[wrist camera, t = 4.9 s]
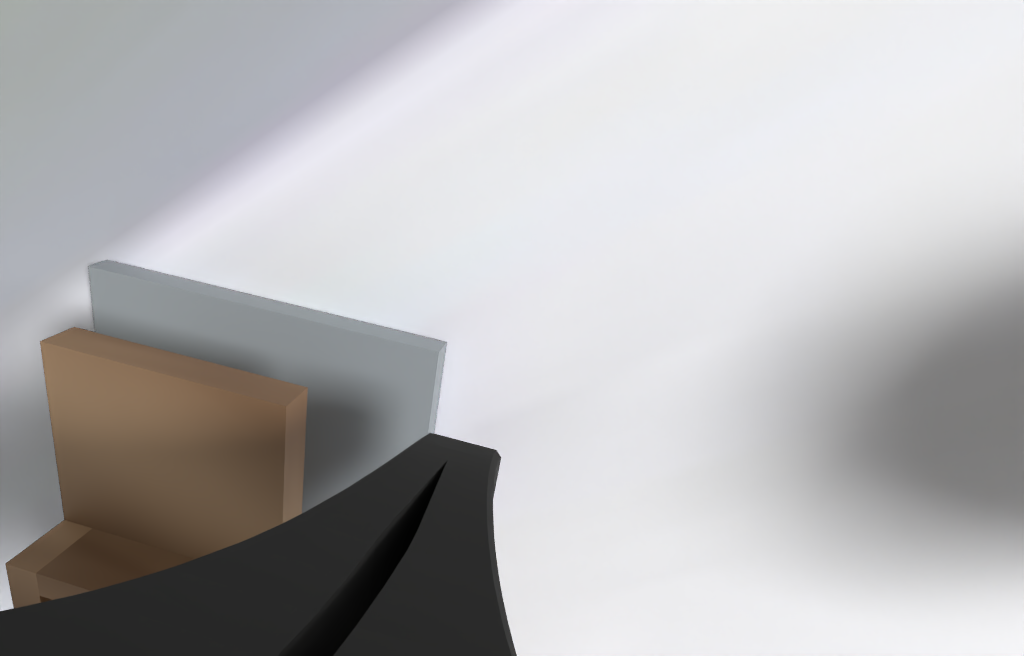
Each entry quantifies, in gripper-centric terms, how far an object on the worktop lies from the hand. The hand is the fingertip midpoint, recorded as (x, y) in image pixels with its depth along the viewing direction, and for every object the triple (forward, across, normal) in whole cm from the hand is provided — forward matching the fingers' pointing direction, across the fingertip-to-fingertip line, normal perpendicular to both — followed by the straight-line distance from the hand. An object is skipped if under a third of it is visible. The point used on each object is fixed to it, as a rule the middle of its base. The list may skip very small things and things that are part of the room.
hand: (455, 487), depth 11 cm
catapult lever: (+1, +6, +6) cm, 9 cm away
